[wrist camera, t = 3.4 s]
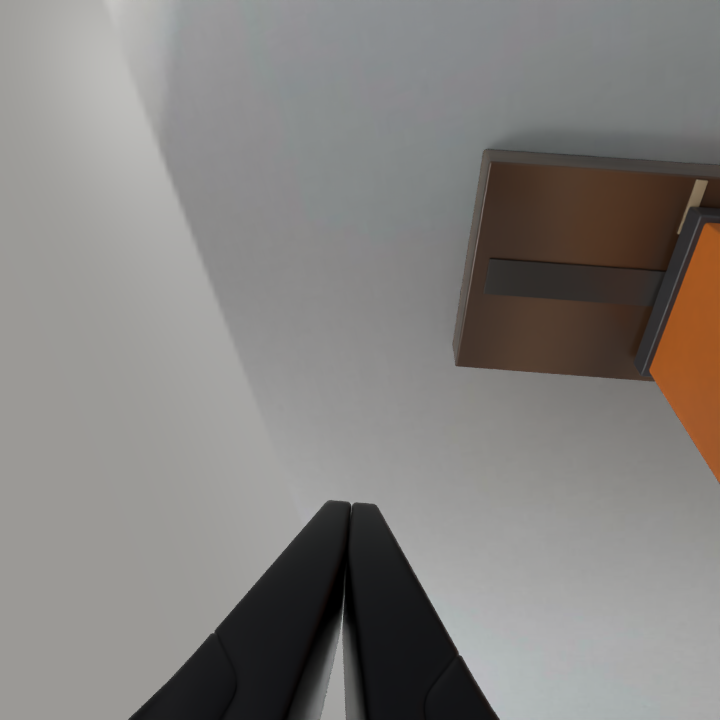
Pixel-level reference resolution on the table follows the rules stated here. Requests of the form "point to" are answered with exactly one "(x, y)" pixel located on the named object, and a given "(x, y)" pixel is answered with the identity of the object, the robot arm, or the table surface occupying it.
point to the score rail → (570, 259)
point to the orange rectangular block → (690, 333)
